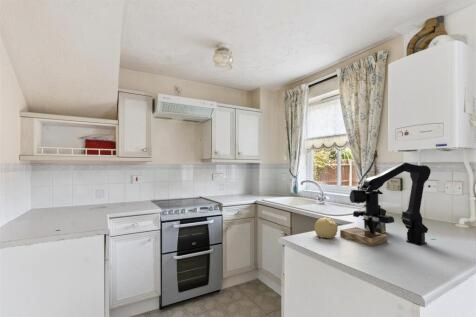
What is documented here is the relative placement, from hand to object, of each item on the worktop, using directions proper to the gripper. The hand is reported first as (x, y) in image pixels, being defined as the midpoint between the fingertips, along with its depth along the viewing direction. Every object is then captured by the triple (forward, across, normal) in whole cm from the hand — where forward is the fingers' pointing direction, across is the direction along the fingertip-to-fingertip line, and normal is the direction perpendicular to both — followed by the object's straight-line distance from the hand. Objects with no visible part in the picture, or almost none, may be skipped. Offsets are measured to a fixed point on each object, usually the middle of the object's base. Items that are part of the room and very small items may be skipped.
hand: (372, 233), depth 121 cm
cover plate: (+2, +8, 0) cm, 8 cm away
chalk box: (+5, +12, -19) cm, 23 cm away
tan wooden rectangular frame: (+5, +6, 0) cm, 7 cm away
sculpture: (+5, +18, +14) cm, 23 cm away
